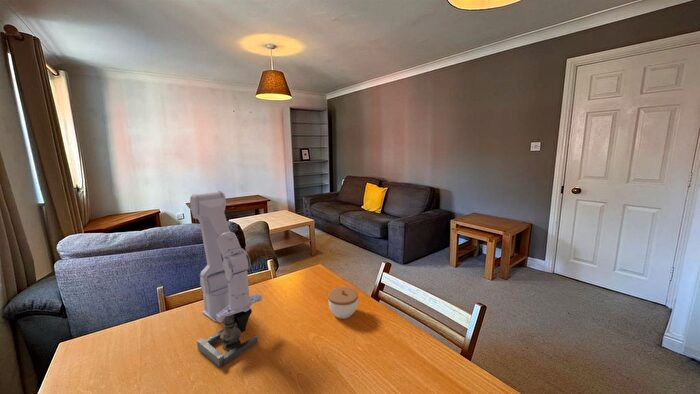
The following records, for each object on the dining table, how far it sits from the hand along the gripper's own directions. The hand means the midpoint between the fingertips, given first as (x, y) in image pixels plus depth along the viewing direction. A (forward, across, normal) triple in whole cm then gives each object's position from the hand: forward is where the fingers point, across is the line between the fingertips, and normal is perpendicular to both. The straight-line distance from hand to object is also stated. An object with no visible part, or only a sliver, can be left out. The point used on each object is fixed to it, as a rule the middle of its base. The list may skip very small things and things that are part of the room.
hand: (242, 330), depth 90 cm
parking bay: (+2, -5, 0) cm, 5 cm away
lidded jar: (+3, +29, -18) cm, 34 cm away
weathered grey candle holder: (+3, -4, 0) cm, 5 cm away
